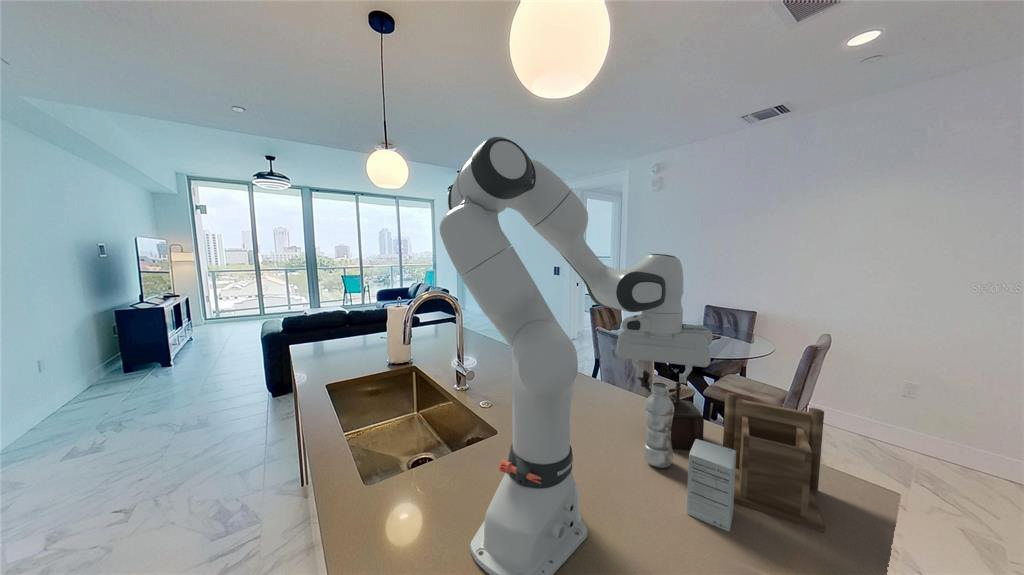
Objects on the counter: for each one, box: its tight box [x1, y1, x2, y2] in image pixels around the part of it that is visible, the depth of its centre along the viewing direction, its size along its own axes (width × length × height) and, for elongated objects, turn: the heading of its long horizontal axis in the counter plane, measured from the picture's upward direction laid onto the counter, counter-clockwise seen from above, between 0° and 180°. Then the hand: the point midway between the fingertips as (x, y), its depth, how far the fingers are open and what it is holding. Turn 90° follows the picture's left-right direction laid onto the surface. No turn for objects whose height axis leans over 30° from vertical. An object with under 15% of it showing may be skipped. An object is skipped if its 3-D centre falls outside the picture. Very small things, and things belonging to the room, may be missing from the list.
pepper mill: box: [636, 369, 705, 451], centre depth 92 cm, size 16×11×18 cm
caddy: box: [722, 392, 826, 533], centre depth 70 cm, size 14×17×18 cm
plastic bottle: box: [643, 381, 674, 469], centre depth 80 cm, size 6×7×20 cm
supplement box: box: [686, 439, 736, 533], centre depth 65 cm, size 7×7×13 cm
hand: (660, 379), depth 79 cm, fingers open, 8 cm apart
